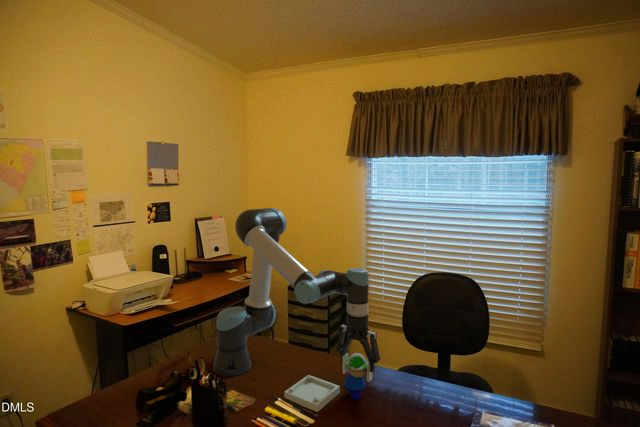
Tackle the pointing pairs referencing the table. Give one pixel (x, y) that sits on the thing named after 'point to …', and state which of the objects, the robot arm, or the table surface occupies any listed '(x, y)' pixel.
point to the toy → (356, 375)
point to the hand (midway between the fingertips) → (357, 376)
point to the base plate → (312, 392)
